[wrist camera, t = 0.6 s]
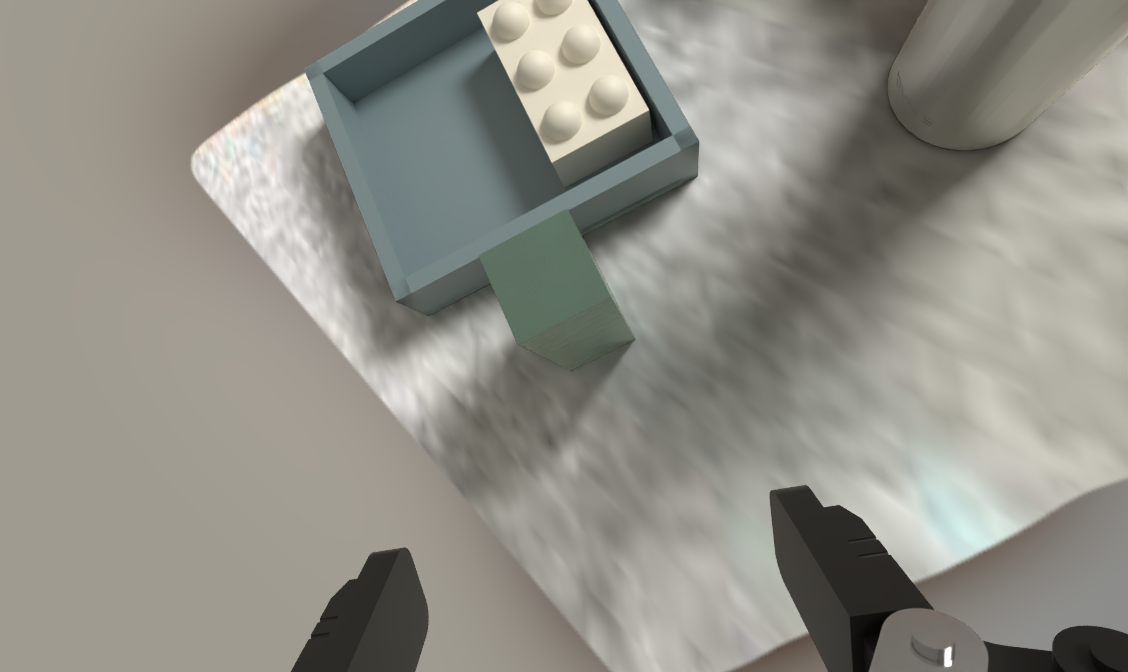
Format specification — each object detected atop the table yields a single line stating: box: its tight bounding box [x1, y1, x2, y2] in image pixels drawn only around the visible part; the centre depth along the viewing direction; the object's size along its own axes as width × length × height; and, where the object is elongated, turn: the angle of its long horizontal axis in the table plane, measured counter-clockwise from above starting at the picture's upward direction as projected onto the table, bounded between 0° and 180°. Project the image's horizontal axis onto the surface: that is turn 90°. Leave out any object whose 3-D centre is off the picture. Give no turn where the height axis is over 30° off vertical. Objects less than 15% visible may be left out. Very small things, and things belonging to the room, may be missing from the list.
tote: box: [305, 0, 699, 316], centre depth 42 cm, size 22×20×5 cm
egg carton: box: [477, 0, 653, 188], centre depth 40 cm, size 7×13×5 cm, turn 25°
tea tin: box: [478, 209, 635, 371], centre depth 34 cm, size 5×5×13 cm
